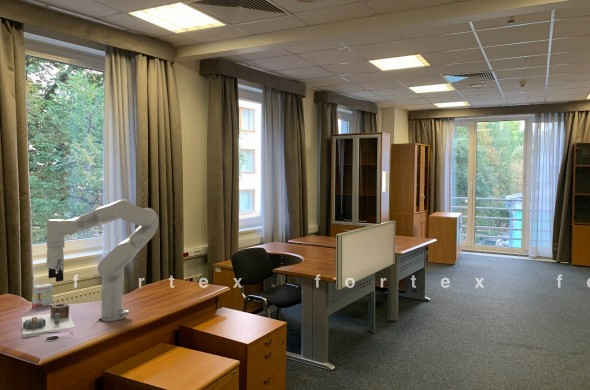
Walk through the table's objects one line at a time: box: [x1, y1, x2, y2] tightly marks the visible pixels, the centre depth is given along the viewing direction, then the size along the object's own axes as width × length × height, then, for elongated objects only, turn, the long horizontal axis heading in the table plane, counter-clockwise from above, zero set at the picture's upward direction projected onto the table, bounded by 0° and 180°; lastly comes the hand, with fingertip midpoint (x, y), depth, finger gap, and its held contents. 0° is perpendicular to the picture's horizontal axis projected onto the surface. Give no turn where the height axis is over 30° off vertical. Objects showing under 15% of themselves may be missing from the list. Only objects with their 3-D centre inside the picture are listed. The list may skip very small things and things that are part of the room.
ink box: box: [31, 283, 54, 309], centre depth 228 cm, size 9×5×12 cm, turn 140°
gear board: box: [21, 313, 76, 339], centre depth 202 cm, size 26×20×6 cm
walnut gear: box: [50, 302, 70, 319], centre depth 210 cm, size 8×8×6 cm
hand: (55, 279), depth 211 cm, fingers open, 9 cm apart
